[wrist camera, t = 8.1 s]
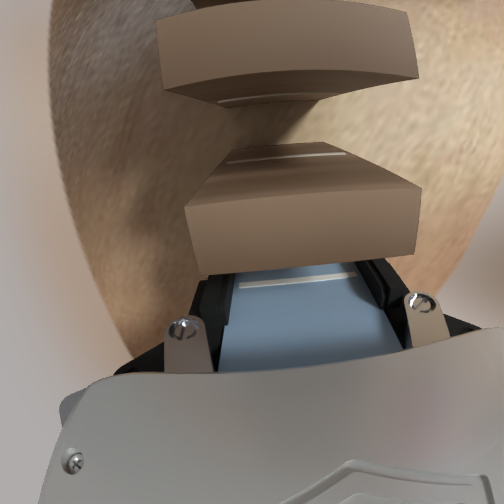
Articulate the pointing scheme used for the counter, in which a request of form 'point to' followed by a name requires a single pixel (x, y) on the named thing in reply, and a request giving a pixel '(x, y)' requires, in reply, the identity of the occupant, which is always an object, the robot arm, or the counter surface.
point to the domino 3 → (303, 319)
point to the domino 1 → (283, 50)
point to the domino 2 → (299, 210)
